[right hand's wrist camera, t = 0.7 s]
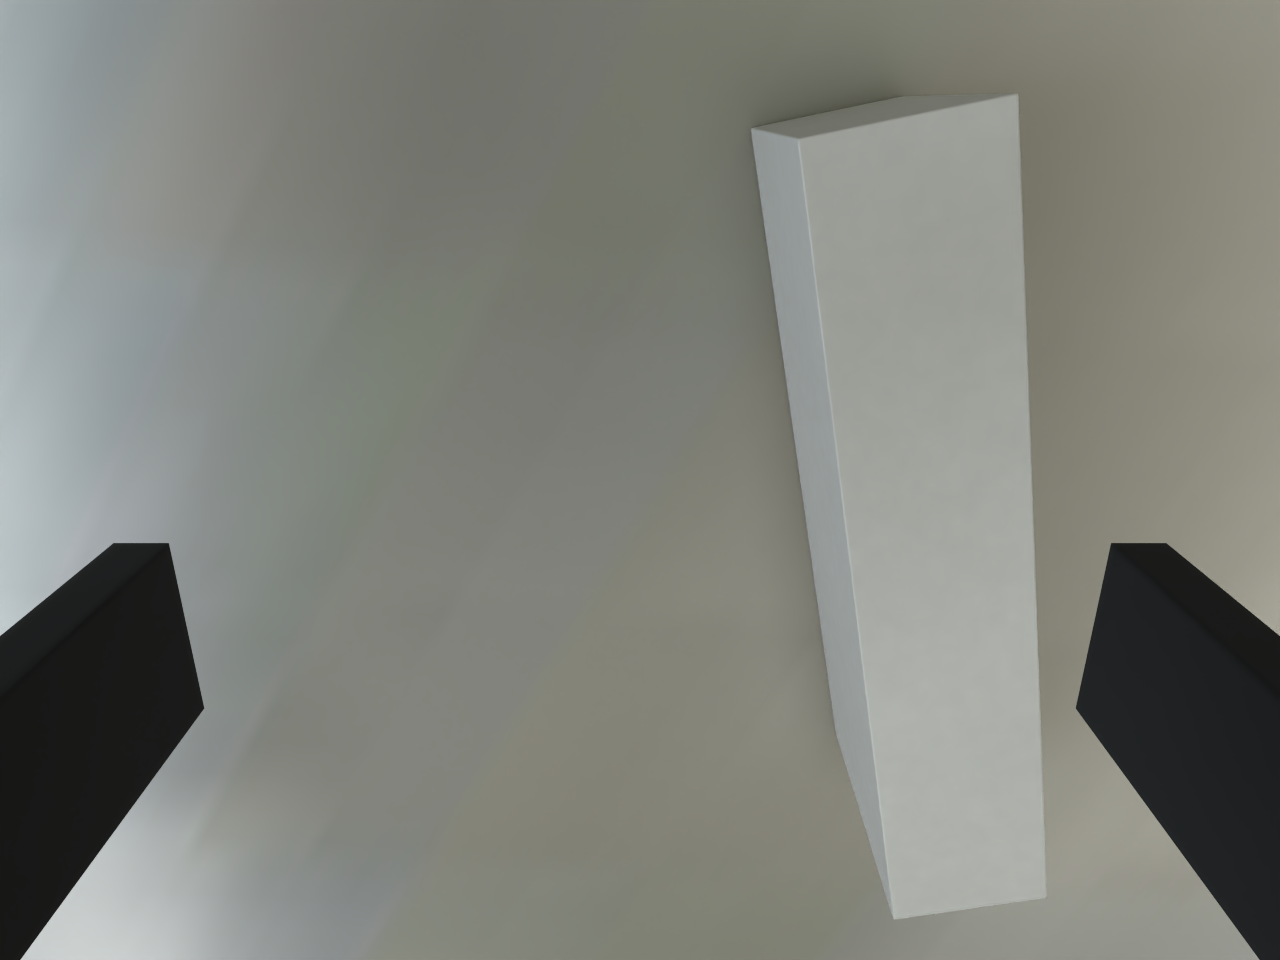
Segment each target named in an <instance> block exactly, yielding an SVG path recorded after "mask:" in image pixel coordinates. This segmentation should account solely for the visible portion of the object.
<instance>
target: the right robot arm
mask: <svg viewBox="0 0 1280 960" xmlns="http://www.w3.org/2000/svg"><path fill="white" fill-rule="evenodd" d="M203 709H204V705H203V701H202V696H201V691H200V687H199V682H198V677H197V673H196V668H195V663H194V659H193V654H192V650H191V645H190V640H189V636H188V631H187V626H186V622H185V617H184V612H183V608H182V603H181V598H180V594H179V589H178V584H177V580H176V575H175V570H174V566H173V561H172V556H171V552H170V547H169V543H113V544H112V545H111V546H110V547H109V548H107V549H106V550H105V551H104V552H102V553H101V554H100V555H99V556H98V557H96V558H95V559H94V560H93V561H91V562H90V563H89V564H88V565H87V566H85V567H84V568H83V569H82V570H80V571H79V572H78V573H77V574H76V575H74V576H73V577H72V578H71V579H69V580H68V581H67V582H66V583H65V584H63V585H62V586H61V587H60V588H58V589H57V590H56V591H55V592H54V593H52V594H51V595H50V596H49V597H47V598H46V599H45V600H44V601H43V602H41V603H40V604H39V605H38V606H36V607H35V608H34V609H33V610H32V611H30V612H29V613H28V614H27V615H25V616H24V617H23V618H22V619H21V620H19V621H18V622H17V623H16V624H15V625H13V626H12V627H11V628H10V629H8V630H7V631H6V632H5V633H4V634H2V635H1V636H0V960H20V959H21V958H22V957H23V955H24V954H25V953H26V951H27V950H28V948H29V947H30V946H31V944H32V943H33V942H34V940H35V939H36V938H37V936H38V935H39V933H40V932H41V931H42V929H43V928H44V927H45V925H46V924H47V923H48V921H49V920H50V918H51V917H52V916H53V914H54V913H55V912H56V910H57V909H58V907H59V906H60V905H61V903H62V902H63V901H64V899H65V898H66V897H67V895H68V894H69V892H70V891H71V890H72V888H73V887H74V886H75V884H76V883H77V881H78V880H79V879H80V877H81V876H82V875H83V873H84V872H85V871H86V869H87V868H88V866H89V865H90V864H91V862H92V861H93V860H94V858H95V857H96V856H97V854H98V853H99V851H100V850H101V849H102V847H103V846H104V845H105V843H106V842H107V840H108V839H109V838H110V836H111V835H112V834H113V832H114V831H115V830H116V828H117V827H118V825H119V824H120V823H121V821H122V820H123V819H124V817H125V816H126V814H127V813H128V812H129V810H130V809H131V808H132V806H133V805H134V804H135V802H136V801H137V799H138V798H139V797H140V795H141V794H142V793H143V791H144V790H145V789H146V787H147V786H148V784H149V783H150V782H151V780H152V779H153V778H154V776H155V775H156V773H157V772H158V771H159V769H160V768H161V767H162V765H163V764H164V763H165V761H166V760H167V758H168V757H169V756H170V754H171V753H172V752H173V750H174V749H175V747H176V746H177V745H178V743H179V742H180V741H181V739H182V738H183V737H184V735H185V734H186V732H187V731H188V730H189V728H190V727H191V726H192V724H193V723H194V721H195V720H196V719H197V717H198V716H199V715H200V713H201V712H202V711H203ZM1076 709H1077V711H1078V712H1079V713H1080V715H1081V716H1082V717H1083V719H1084V720H1085V721H1086V723H1087V724H1088V726H1089V727H1090V728H1091V730H1092V731H1093V732H1094V734H1095V735H1096V737H1097V738H1098V739H1099V741H1100V742H1101V743H1102V745H1103V746H1104V747H1105V749H1106V750H1107V752H1108V753H1109V754H1110V756H1111V757H1112V758H1113V760H1114V761H1115V763H1116V764H1117V765H1118V767H1119V768H1120V769H1121V771H1122V772H1123V773H1124V775H1125V776H1126V778H1127V779H1128V780H1129V782H1130V783H1131V784H1132V786H1133V787H1134V789H1135V790H1136V791H1137V793H1138V794H1139V795H1140V797H1141V798H1142V799H1143V801H1144V802H1145V804H1146V805H1147V806H1148V808H1149V809H1150V810H1151V812H1152V813H1153V814H1154V816H1155V817H1156V819H1157V820H1158V821H1159V823H1160V824H1161V825H1162V827H1163V828H1164V830H1165V831H1166V832H1167V834H1168V835H1169V836H1170V838H1171V839H1172V840H1173V842H1174V843H1175V845H1176V846H1177V847H1178V849H1179V850H1180V851H1181V853H1182V854H1183V856H1184V857H1185V858H1186V860H1187V861H1188V862H1189V864H1190V865H1191V866H1192V868H1193V869H1194V871H1195V872H1196V873H1197V875H1198V876H1199V877H1200V879H1201V880H1202V881H1203V883H1204V884H1205V886H1206V887H1207V888H1208V890H1209V891H1210V892H1211V894H1212V895H1213V897H1214V898H1215V899H1216V901H1217V902H1218V903H1219V905H1220V906H1221V907H1222V909H1223V910H1224V912H1225V913H1226V914H1227V916H1228V917H1229V918H1230V920H1231V921H1232V923H1233V924H1234V925H1235V927H1236V928H1237V929H1238V931H1239V932H1240V933H1241V935H1242V936H1243V938H1244V939H1245V940H1246V942H1247V943H1248V944H1249V946H1250V947H1251V948H1252V950H1253V951H1254V953H1255V954H1256V955H1257V957H1258V958H1259V959H1260V960H1280V636H1279V635H1278V634H1276V633H1275V632H1274V631H1273V630H1272V629H1270V628H1269V627H1268V626H1267V625H1265V624H1264V623H1263V622H1262V621H1261V620H1259V619H1258V618H1257V617H1256V616H1255V615H1253V614H1252V613H1251V612H1250V611H1248V610H1247V609H1246V608H1245V607H1244V606H1242V605H1241V604H1240V603H1239V602H1237V601H1236V600H1235V599H1234V598H1233V597H1231V596H1230V595H1229V594H1228V593H1226V592H1225V591H1224V590H1223V589H1222V588H1220V587H1219V586H1218V585H1217V584H1215V583H1214V582H1213V581H1212V580H1211V579H1209V578H1208V577H1207V576H1206V575H1204V574H1203V573H1202V572H1201V571H1200V570H1198V569H1197V568H1196V567H1195V566H1193V565H1192V564H1191V563H1190V562H1189V561H1187V560H1186V559H1185V558H1184V557H1182V556H1181V555H1180V554H1179V553H1178V552H1176V551H1175V550H1174V549H1173V548H1171V547H1170V546H1169V545H1168V544H1167V543H1111V547H1110V552H1109V556H1108V561H1107V566H1106V570H1105V575H1104V580H1103V584H1102V589H1101V594H1100V598H1099V603H1098V608H1097V612H1096V617H1095V622H1094V626H1093V631H1092V636H1091V640H1090V645H1089V650H1088V654H1087V659H1086V663H1085V668H1084V673H1083V677H1082V682H1081V687H1080V691H1079V696H1078V701H1077V705H1076Z"/></svg>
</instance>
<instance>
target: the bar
mask: <svg viewBox="0 0 1280 960" xmlns="http://www.w3.org/2000/svg"><path fill="white" fill-rule="evenodd" d="M751 134H752V141H753V148H754V156H755V163H756V170H757V177H758V184H759V191H760V198H761V205H762V212H763V220H764V227H765V234H766V241H767V248H768V255H769V262H770V269H771V276H772V284H773V291H774V298H775V305H776V312H777V319H778V326H779V333H780V340H781V348H782V355H783V362H784V369H785V376H786V383H787V390H788V397H789V404H790V411H791V419H792V426H793V433H794V440H795V447H796V454H797V461H798V468H799V475H800V483H801V490H802V497H803V504H804V511H805V518H806V525H807V532H808V539H809V547H810V554H811V561H812V568H813V575H814V582H815V589H816V596H817V603H818V611H819V618H820V625H821V632H822V639H823V646H824V653H825V660H826V667H827V675H828V682H829V689H830V696H831V703H832V710H833V717H834V724H835V731H836V735H837V739H838V742H839V745H840V748H841V752H842V755H843V758H844V761H845V764H846V768H847V771H848V774H849V777H850V781H851V784H852V787H853V790H854V794H855V797H856V800H857V803H858V807H859V810H860V813H861V816H862V819H863V823H864V826H865V829H866V832H867V836H868V839H869V842H870V845H871V849H872V852H873V855H874V858H875V862H876V865H877V868H878V871H879V875H880V878H881V881H882V884H883V887H884V891H885V894H886V897H887V900H888V904H889V907H890V910H891V913H892V917H893V919H895V920H896V919H903V918H910V917H917V916H924V915H931V914H938V913H945V912H952V911H959V910H966V909H973V908H980V907H987V906H994V905H1001V904H1009V903H1016V902H1023V901H1030V900H1037V899H1044V898H1047V885H1046V857H1045V829H1044V801H1043V773H1042V745H1041V717H1040V688H1039V660H1038V632H1037V604H1036V576H1035V548H1034V520H1033V492H1032V464H1031V435H1030V407H1029V379H1028V351H1027V323H1026V295H1025V267H1024V239H1023V210H1022V182H1021V154H1020V126H1019V98H1018V94H1017V93H1002V94H965V95H927V96H901V97H896V98H892V99H887V100H882V101H877V102H872V103H868V104H863V105H858V106H853V107H849V108H844V109H839V110H834V111H829V112H825V113H820V114H815V115H810V116H806V117H801V118H796V119H791V120H786V121H782V122H777V123H772V124H767V125H762V126H758V127H753V128H751Z"/></svg>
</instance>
